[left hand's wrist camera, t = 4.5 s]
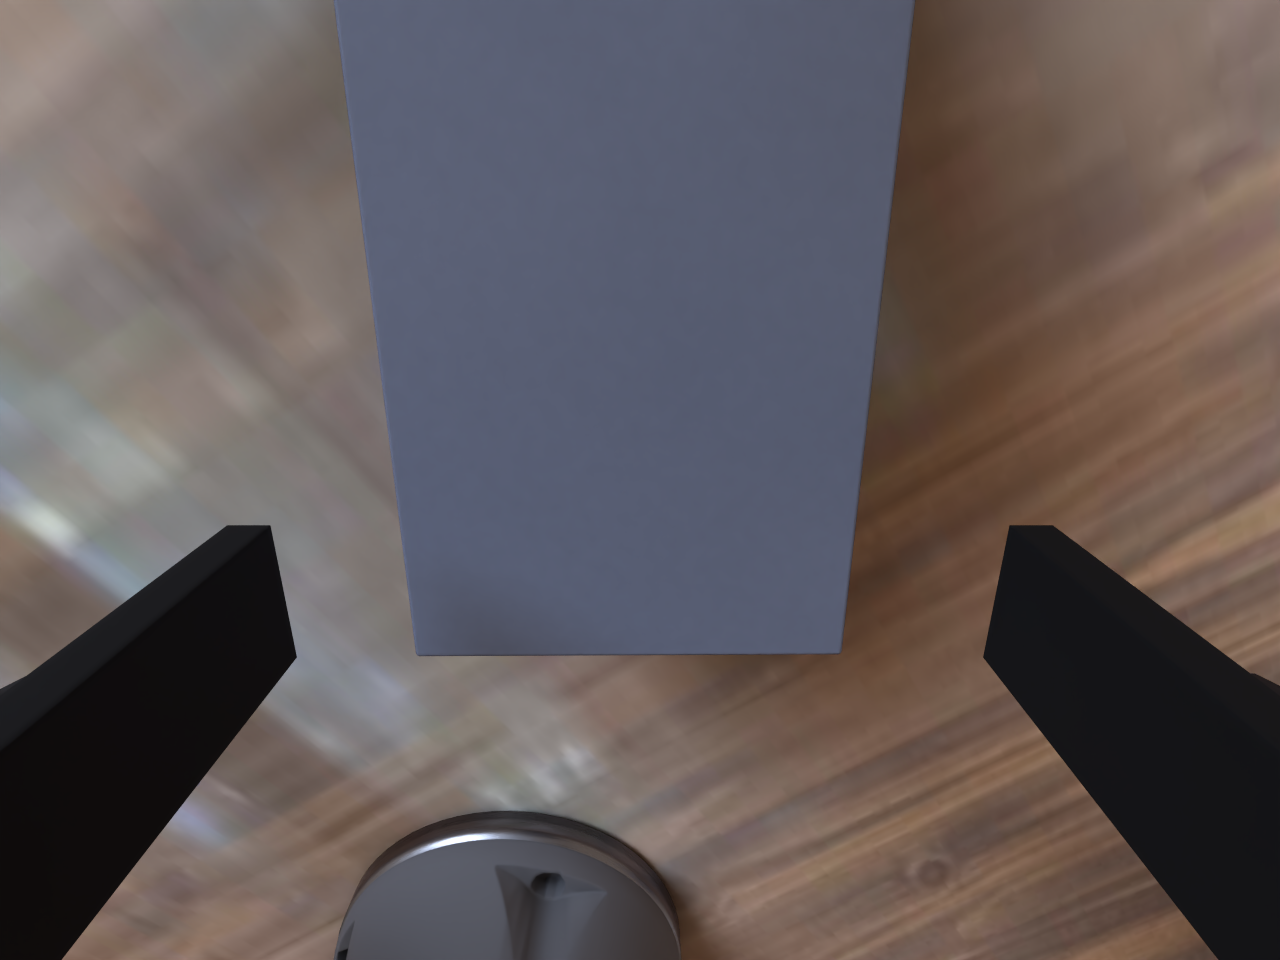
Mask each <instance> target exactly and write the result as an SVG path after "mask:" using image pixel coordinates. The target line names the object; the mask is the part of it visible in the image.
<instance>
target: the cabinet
mask: <svg viewBox="0 0 1280 960" xmlns="http://www.w3.org/2000/svg"><path fill="white" fill-rule="evenodd" d="M334 6H335V14H336V22H337V29H338V37H339V45H340V53H341V61H342V69H343V77H344V85H345V93H346V101H347V109H348V117H349V125H350V133H351V141H352V148H353V156H354V164H355V172H356V180H357V188H358V196H359V204H360V212H361V220H362V228H363V236H364V244H365V252H366V259H367V267H368V275H369V283H370V291H371V299H372V307H373V315H374V323H375V331H376V339H377V347H378V355H379V363H380V370H381V378H382V386H383V394H384V402H385V410H386V418H387V426H388V434H389V442H390V450H391V458H392V466H393V474H394V481H395V489H396V497H397V505H398V513H399V521H400V529H401V537H402V545H403V553H404V561H405V569H406V577H407V585H408V593H409V600H410V608H411V616H412V624H413V632H414V640H415V648H416V654H417V655H418V656H544V655H771V654H840V653H841V650H842V642H843V633H844V625H845V616H846V607H847V598H848V589H849V580H850V572H851V563H852V554H853V545H854V536H855V528H856V519H857V510H858V501H859V492H860V483H861V475H862V466H863V457H864V448H865V439H866V430H867V422H868V413H869V404H870V395H871V386H872V378H873V369H874V360H875V351H876V342H877V333H878V325H879V316H880V307H881V298H882V289H883V280H884V272H885V263H886V254H887V245H888V236H889V228H890V219H891V210H892V201H893V192H894V183H895V175H896V166H897V157H898V148H899V139H900V130H901V122H902V113H903V104H904V95H905V86H906V78H907V69H908V60H909V51H910V42H911V33H912V25H913V16H914V7H915V0H334Z"/></svg>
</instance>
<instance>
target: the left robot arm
mask: <svg viewBox="0 0 1280 960" xmlns="http://www.w3.org/2000/svg"><path fill="white" fill-rule="evenodd" d="M296 658H297V656H296V651H295V646H294V641H293V636H292V631H291V626H290V621H289V616H288V611H287V606H286V601H285V596H284V591H283V586H282V581H281V576H280V571H279V566H278V561H277V556H276V551H275V546H274V541H273V536H272V531H271V526H270V525H227V526H226V527H225V528H223V529H222V530H221V531H219V532H218V533H217V534H215V535H214V536H213V537H211V538H210V539H209V540H207V541H206V542H205V543H203V544H202V545H200V546H199V547H198V548H196V549H195V550H194V551H192V552H191V553H190V554H188V555H187V556H186V557H184V558H183V559H182V560H180V561H179V562H178V563H176V564H175V565H174V566H172V567H171V568H170V569H168V570H167V571H166V572H164V573H163V574H162V575H160V576H159V577H158V578H156V579H155V580H154V581H152V582H151V583H150V584H148V585H147V586H146V587H144V588H143V589H142V590H140V591H139V592H138V593H136V594H135V595H134V596H132V597H131V598H130V599H128V600H127V601H126V602H124V603H123V604H122V605H120V606H119V607H118V608H116V609H115V610H114V611H112V612H111V613H110V614H108V615H107V616H106V617H104V618H103V619H102V620H100V621H99V622H98V623H96V624H95V625H94V626H92V627H91V628H90V629H88V630H87V631H86V632H84V633H83V634H82V635H80V636H79V637H78V638H76V639H75V640H74V641H72V642H71V643H70V644H68V645H67V646H66V647H64V648H63V649H62V650H60V651H59V652H58V653H56V654H55V655H54V656H52V657H51V658H50V659H48V660H47V661H46V662H44V663H43V664H42V665H40V666H39V667H38V668H36V669H35V670H34V671H32V672H31V673H30V674H28V675H27V676H25V677H23V678H21V679H19V680H17V681H15V682H13V683H11V684H9V685H7V686H5V687H3V688H1V689H0V960H62V958H63V957H64V956H65V955H66V953H67V952H68V951H69V949H70V948H71V947H72V946H73V944H74V943H75V942H76V940H77V939H78V938H79V937H80V935H81V934H82V933H83V931H84V930H85V929H86V928H87V926H88V925H89V924H90V922H91V921H92V920H93V919H94V917H95V916H96V915H97V913H98V912H99V911H100V910H101V908H102V907H103V906H104V904H105V903H106V902H107V901H108V899H109V898H110V897H111V895H112V894H113V893H114V892H115V890H116V889H117V888H118V886H119V885H120V884H121V883H122V881H123V880H124V879H125V877H126V876H127V875H128V874H129V872H130V871H131V870H132V868H133V867H134V866H135V865H136V863H137V862H138V861H139V859H140V858H141V857H142V856H143V854H144V853H145V852H146V850H147V849H148V848H149V847H150V845H151V844H152V843H153V841H154V840H155V839H156V838H157V836H158V835H159V834H160V832H161V831H162V830H163V829H164V827H165V826H166V825H167V823H168V822H169V821H170V820H171V818H172V817H173V816H174V814H175V813H176V812H177V811H178V809H179V808H180V807H181V805H182V804H183V803H184V802H185V800H186V799H187V798H188V796H189V795H190V794H191V793H192V791H193V790H194V789H195V787H196V786H197V785H198V784H199V782H200V781H201V780H202V778H203V777H204V776H205V775H206V773H207V772H208V771H209V769H210V768H211V767H212V766H213V764H214V763H215V762H216V760H217V759H218V758H219V757H220V755H221V754H222V753H223V751H224V750H225V749H226V748H227V746H228V745H229V744H230V742H231V741H232V740H233V739H234V737H235V736H236V735H237V733H238V732H239V731H240V730H241V728H242V727H243V726H244V724H245V723H246V722H247V721H248V719H249V718H250V717H251V715H252V714H253V713H254V712H255V710H256V709H257V708H258V706H259V705H260V704H261V703H262V701H263V700H264V699H265V697H266V696H267V695H268V694H269V692H270V691H271V690H272V688H273V687H274V686H275V685H276V683H277V682H278V681H279V679H280V678H281V677H282V676H283V674H284V673H285V672H286V670H287V669H288V668H289V667H290V665H291V664H292V663H293V661H294V660H295V659H296ZM983 658H984V659H985V660H986V661H987V663H988V664H989V665H990V667H991V668H992V669H993V670H994V672H995V673H996V674H997V676H998V677H999V678H1000V679H1001V681H1002V682H1003V683H1004V685H1005V686H1006V687H1007V688H1008V690H1009V691H1010V692H1011V694H1012V695H1013V696H1014V697H1015V699H1016V700H1017V701H1018V703H1019V704H1020V705H1021V706H1022V708H1023V709H1024V710H1025V712H1026V713H1027V714H1028V715H1029V717H1030V718H1031V719H1032V721H1033V722H1034V723H1035V724H1036V726H1037V727H1038V728H1039V730H1040V731H1041V732H1042V733H1043V735H1044V736H1045V737H1046V739H1047V740H1048V741H1049V742H1050V744H1051V745H1052V746H1053V748H1054V749H1055V750H1056V751H1057V753H1058V754H1059V755H1060V757H1061V758H1062V759H1063V760H1064V762H1065V763H1066V764H1067V766H1068V767H1069V768H1070V769H1071V771H1072V772H1073V773H1074V775H1075V776H1076V777H1077V778H1078V780H1079V781H1080V782H1081V784H1082V785H1083V786H1084V787H1085V789H1086V790H1087V791H1088V793H1089V794H1090V795H1091V796H1092V798H1093V799H1094V800H1095V802H1096V803H1097V804H1098V805H1099V807H1100V808H1101V809H1102V811H1103V812H1104V813H1105V814H1106V816H1107V817H1108V818H1109V820H1110V821H1111V822H1112V823H1113V825H1114V826H1115V827H1116V829H1117V830H1118V831H1119V832H1120V834H1121V835H1122V836H1123V838H1124V839H1125V840H1126V841H1127V843H1128V844H1129V845H1130V847H1131V848H1132V849H1133V850H1134V852H1135V853H1136V854H1137V856H1138V857H1139V858H1140V859H1141V861H1142V862H1143V863H1144V865H1145V866H1146V867H1147V868H1148V870H1149V871H1150V872H1151V874H1152V875H1153V876H1154V877H1155V879H1156V880H1157V881H1158V883H1159V884H1160V885H1161V886H1162V888H1163V889H1164V890H1165V892H1166V893H1167V894H1168V895H1169V897H1170V898H1171V899H1172V901H1173V902H1174V903H1175V904H1176V906H1177V907H1178V908H1179V910H1180V911H1181V912H1182V913H1183V915H1184V916H1185V917H1186V919H1187V920H1188V921H1189V922H1190V924H1191V925H1192V926H1193V928H1194V929H1195V930H1196V931H1197V933H1198V934H1199V935H1200V937H1201V938H1202V939H1203V940H1204V942H1205V943H1206V944H1207V946H1208V947H1209V948H1210V949H1211V951H1212V952H1213V953H1214V955H1215V956H1216V957H1217V958H1218V960H1280V686H1279V685H1277V684H1275V683H1273V682H1271V681H1269V680H1267V679H1265V678H1263V677H1261V676H1259V675H1257V674H1250V673H1249V672H1248V671H1246V670H1245V669H1244V668H1242V667H1241V666H1240V665H1238V664H1237V663H1236V662H1234V661H1233V660H1232V659H1230V658H1229V657H1228V656H1226V655H1225V654H1224V653H1222V652H1221V651H1220V650H1218V649H1217V648H1216V647H1214V646H1213V645H1212V644H1210V643H1209V642H1208V641H1206V640H1205V639H1204V638H1202V637H1201V636H1200V635H1198V634H1197V633H1196V632H1194V631H1193V630H1192V629H1190V628H1189V627H1188V626H1186V625H1185V624H1184V623H1182V622H1181V621H1180V620H1178V619H1177V618H1176V617H1174V616H1173V615H1172V614H1170V613H1169V612H1168V611H1166V610H1165V609H1164V608H1162V607H1161V606H1160V605H1158V604H1157V603H1156V602H1154V601H1153V600H1152V599H1150V598H1149V597H1148V596H1146V595H1145V594H1144V593H1142V592H1141V591H1140V590H1138V589H1137V588H1136V587H1134V586H1133V585H1132V584H1130V583H1129V582H1128V581H1126V580H1125V579H1124V578H1122V577H1121V576H1120V575H1118V574H1117V573H1116V572H1114V571H1113V570H1112V569H1110V568H1109V567H1108V566H1106V565H1105V564H1104V563H1102V562H1101V561H1100V560H1098V559H1097V558H1096V557H1094V556H1093V555H1092V554H1090V553H1089V552H1088V551H1086V550H1085V549H1084V548H1082V547H1081V546H1079V545H1078V544H1077V543H1075V542H1074V541H1073V540H1071V539H1070V538H1069V537H1067V536H1066V535H1065V534H1063V533H1062V532H1061V531H1059V530H1058V529H1057V528H1055V527H1054V526H1053V525H1010V526H1009V531H1008V536H1007V541H1006V546H1005V551H1004V556H1003V561H1002V566H1001V571H1000V576H999V581H998V586H997V591H996V596H995V601H994V606H993V611H992V616H991V621H990V626H989V631H988V636H987V641H986V646H985V651H984V656H983ZM334 960H681V947H680V932H679V923H678V917H677V913H676V910H675V906H674V904H673V902H672V899H671V897H670V895H669V893H668V891H667V889H666V888H665V886H664V884H663V883H662V881H661V880H660V879H659V877H658V876H657V875H656V873H655V872H654V871H653V870H652V869H651V868H650V867H649V866H648V864H647V863H646V862H645V861H643V860H642V859H641V858H640V857H639V856H638V855H637V854H635V853H634V852H633V851H631V850H630V849H629V848H627V847H626V846H625V845H623V844H622V843H620V842H618V841H617V840H615V839H613V838H612V837H610V836H608V835H606V834H604V833H602V832H600V831H598V830H596V829H593V828H591V827H588V826H586V825H583V824H580V823H578V822H574V821H571V820H567V819H564V818H560V817H555V816H551V815H546V814H539V813H531V812H518V811H491V812H481V813H473V814H467V815H462V816H457V817H453V818H449V819H445V820H442V821H439V822H436V823H433V824H431V825H428V826H426V827H423V828H421V829H419V830H417V831H415V832H413V833H411V834H409V835H407V836H406V837H404V838H402V839H401V840H399V841H398V842H396V843H395V844H394V845H392V846H391V847H389V848H388V849H387V850H386V851H385V852H384V853H382V854H381V855H380V856H379V857H378V858H377V859H376V860H375V861H374V863H373V864H372V865H371V866H370V867H369V868H368V870H367V871H366V873H365V874H364V876H363V877H362V879H361V881H360V883H359V885H358V887H357V889H356V891H355V893H354V895H353V898H352V900H351V903H350V905H349V907H348V910H347V912H346V915H345V917H344V920H343V922H342V925H341V928H340V932H339V937H338V942H337V946H336V950H335V956H334Z"/></svg>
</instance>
